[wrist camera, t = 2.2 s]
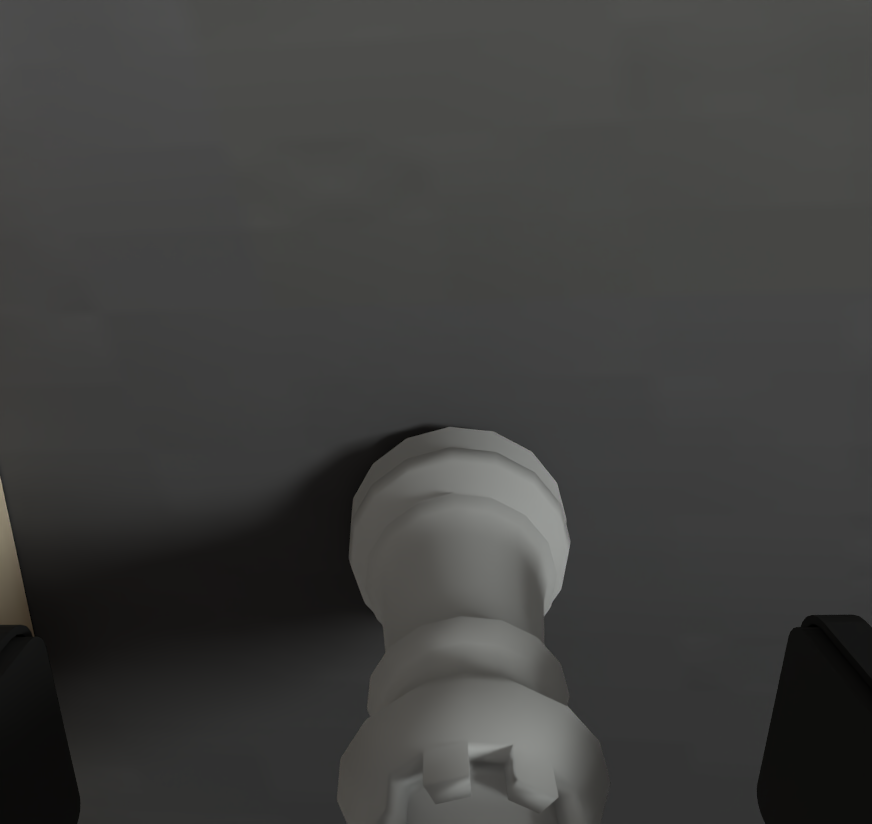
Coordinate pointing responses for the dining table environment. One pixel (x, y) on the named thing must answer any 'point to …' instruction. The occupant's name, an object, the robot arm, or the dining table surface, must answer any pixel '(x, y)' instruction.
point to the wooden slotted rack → (10, 576)
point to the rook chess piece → (465, 643)
